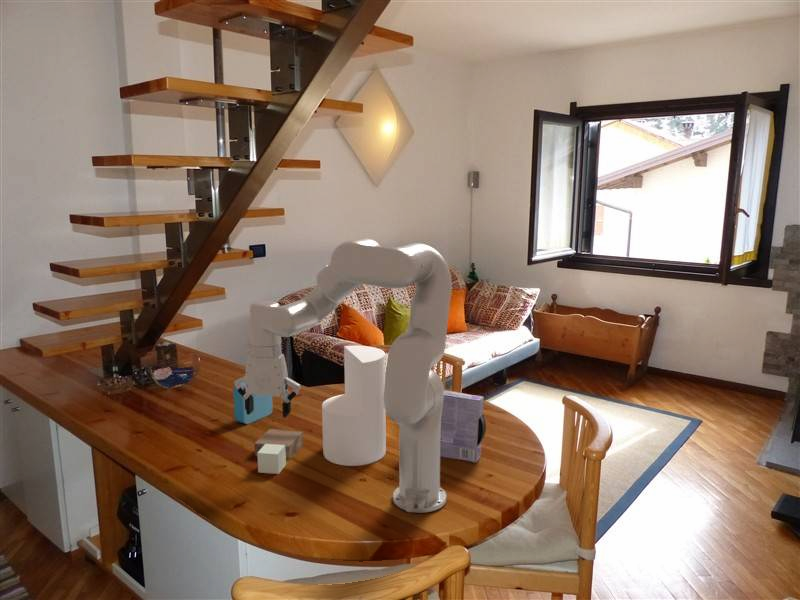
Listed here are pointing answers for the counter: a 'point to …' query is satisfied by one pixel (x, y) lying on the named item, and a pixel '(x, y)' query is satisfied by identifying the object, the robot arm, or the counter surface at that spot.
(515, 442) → the counter surface
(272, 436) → the pinkish brown square block
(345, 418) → the white bottle-shaped block
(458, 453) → the cake pan box
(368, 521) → the counter surface
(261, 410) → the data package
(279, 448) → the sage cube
